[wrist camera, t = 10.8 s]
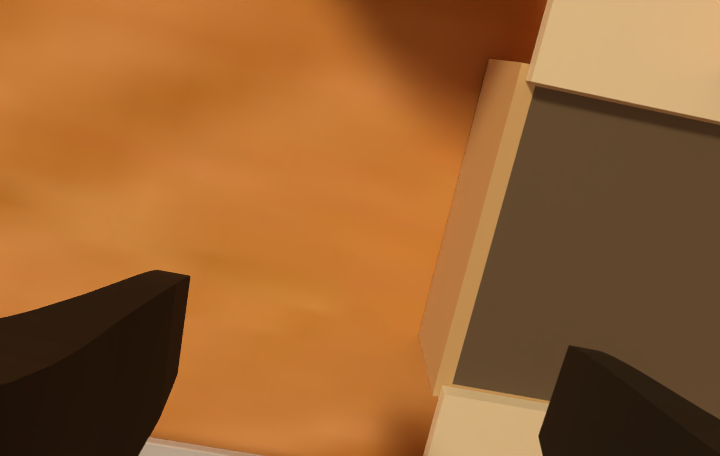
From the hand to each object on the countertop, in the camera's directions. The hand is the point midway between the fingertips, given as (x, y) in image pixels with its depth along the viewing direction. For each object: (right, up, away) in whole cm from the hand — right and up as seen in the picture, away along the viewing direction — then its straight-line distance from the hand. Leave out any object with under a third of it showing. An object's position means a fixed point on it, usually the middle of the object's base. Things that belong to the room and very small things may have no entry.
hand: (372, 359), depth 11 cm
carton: (+9, +2, +10) cm, 14 cm away
